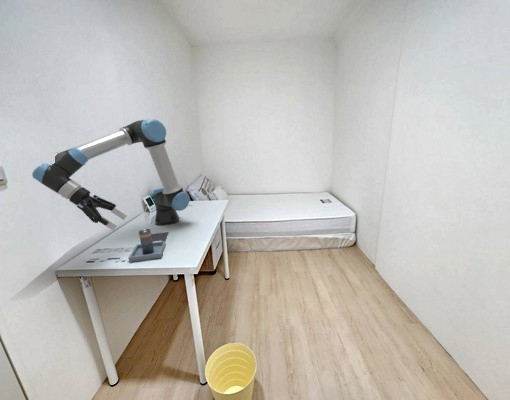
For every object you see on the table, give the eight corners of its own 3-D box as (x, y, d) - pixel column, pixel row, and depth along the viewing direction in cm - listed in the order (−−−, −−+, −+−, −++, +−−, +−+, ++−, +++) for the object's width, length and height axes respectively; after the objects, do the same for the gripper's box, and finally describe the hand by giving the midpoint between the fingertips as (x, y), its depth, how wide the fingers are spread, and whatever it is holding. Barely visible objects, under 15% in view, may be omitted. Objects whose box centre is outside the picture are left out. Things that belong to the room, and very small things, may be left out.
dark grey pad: (147, 235, 134) (146, 234, 133) (169, 232, 136) (168, 231, 136) (140, 246, 120) (140, 244, 120) (165, 243, 123) (165, 241, 122)
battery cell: (144, 250, 114) (139, 228, 111) (155, 249, 115) (151, 227, 112) (141, 255, 109) (137, 232, 106) (152, 253, 110) (148, 230, 107)
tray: (137, 249, 117) (136, 244, 116) (165, 245, 120) (165, 241, 119) (129, 262, 104) (128, 257, 104) (161, 258, 107) (160, 253, 106)
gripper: (84, 193, 111) (124, 219, 118) (51, 208, 87) (104, 239, 94) (94, 181, 110) (133, 208, 117) (64, 193, 87) (116, 226, 94)
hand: (120, 222), depth 106 cm, fingers open, 13 cm apart
